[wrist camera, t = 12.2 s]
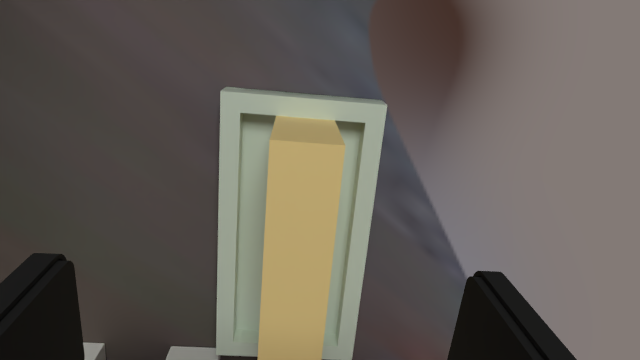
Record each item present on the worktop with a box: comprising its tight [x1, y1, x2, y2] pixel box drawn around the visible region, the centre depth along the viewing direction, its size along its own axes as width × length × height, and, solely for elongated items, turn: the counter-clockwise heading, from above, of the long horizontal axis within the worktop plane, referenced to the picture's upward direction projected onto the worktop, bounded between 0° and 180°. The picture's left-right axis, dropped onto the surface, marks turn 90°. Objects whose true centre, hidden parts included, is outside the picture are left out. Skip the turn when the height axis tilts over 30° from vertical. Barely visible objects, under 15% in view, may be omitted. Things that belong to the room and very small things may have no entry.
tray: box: [216, 87, 387, 360], centre depth 25 cm, size 16×8×2 cm, turn 175°
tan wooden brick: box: [258, 116, 345, 360], centre depth 22 cm, size 12×3×6 cm, turn 175°
